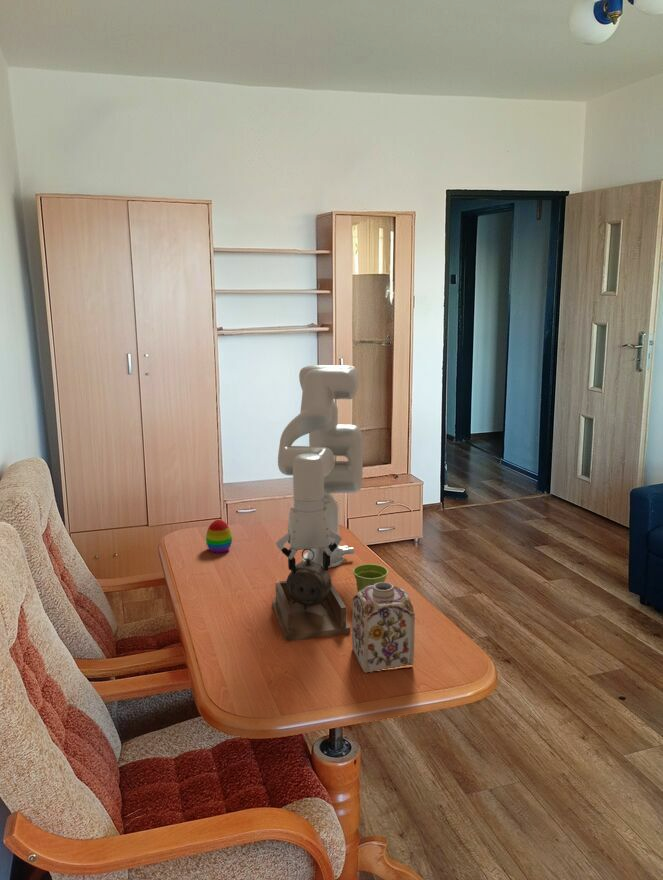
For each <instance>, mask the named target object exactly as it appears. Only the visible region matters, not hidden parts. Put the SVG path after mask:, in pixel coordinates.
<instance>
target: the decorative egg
mask: <svg viewBox="0 0 663 880" xmlns="http://www.w3.org/2000/svg"><path fill="white" fill-rule="evenodd" d="M205 542H206V546H207V547H208V549H209V551H210V552H212V553H215V552H216V554H219V553H221V552H222V553H226V552H227V551H229V549H230V548H231V546H232V542H233V536H232V531H231V529H230V526H229V525H228V523H226V522H225V521H224V520H222V519H216V520H214V521H213V522H211V523H210V525H209V527H208V528H207V530H206V535H205Z"/></svg>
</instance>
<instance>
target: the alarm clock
mask: <svg viewBox="0 0 663 880" xmlns="http://www.w3.org/2000/svg"><path fill="white" fill-rule="evenodd" d="M307 550H310V551H312V550H311V549H303V550H302V551H301V557H303V555H304V552H305V551H307ZM312 553H313V558H312V559H311V560H313V559H314V556H315V555H314V552H313V551H312ZM303 559H304V560H306V561H304V562H303V561H301V562H299V563H297V564H296V573H295V574H292V572H291V571H290V572H289V574H288V576H287V578H286V581H287V590H288V592H289V594H290V596H291V597H292V598H293V599H294V600H295V601H293V603H295V602H297V603H299V604H301V605H304V611H306V609H307V606H316V605H318V604H320V603H321V605H322V606H323V607H324V609H326V606H325V604H324V603H323V601H324V599H325V598H326V596H327V595H328V594H329V592H330V590H331V583H332V579H331V576H330V574H329V572H328V571H326V570H325V569H324V568H323V567H322V566H321V565H319V564H318V563H315V562H312V561H311V560H310V559H305V558H304V557H303Z"/></svg>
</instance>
